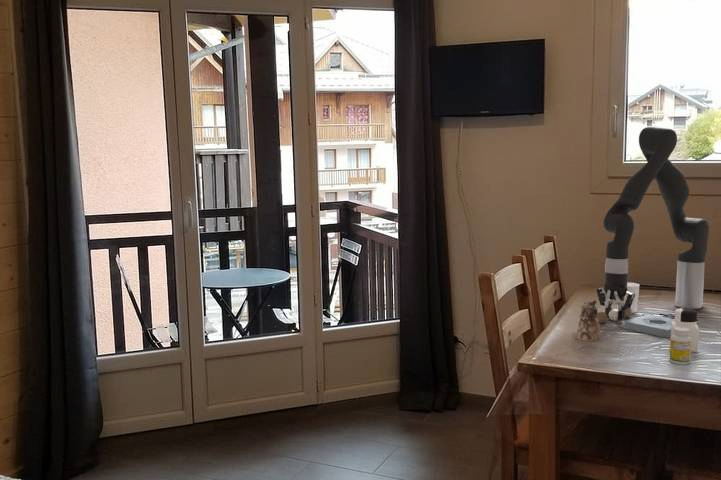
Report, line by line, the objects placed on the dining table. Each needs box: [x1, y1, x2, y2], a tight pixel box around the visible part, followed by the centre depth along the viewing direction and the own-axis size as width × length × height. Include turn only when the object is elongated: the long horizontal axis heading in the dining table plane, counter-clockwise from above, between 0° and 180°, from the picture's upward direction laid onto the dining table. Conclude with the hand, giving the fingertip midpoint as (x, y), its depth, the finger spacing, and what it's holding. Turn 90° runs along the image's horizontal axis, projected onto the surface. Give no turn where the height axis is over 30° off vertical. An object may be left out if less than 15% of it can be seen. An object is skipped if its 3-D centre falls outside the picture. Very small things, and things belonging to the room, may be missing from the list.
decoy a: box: [624, 308, 633, 319], centre depth 255 cm, size 4×4×4 cm
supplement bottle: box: [669, 327, 692, 365], centre depth 203 cm, size 5×5×10 cm
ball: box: [609, 308, 618, 322], centre depth 250 cm, size 4×4×4 cm
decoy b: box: [597, 311, 608, 324], centre depth 247 cm, size 4×4×4 cm
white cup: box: [616, 282, 640, 314], centre depth 264 cm, size 8×8×10 cm
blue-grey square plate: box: [623, 313, 675, 339], centre depth 239 cm, size 15×15×2 cm
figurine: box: [576, 300, 602, 342], centre depth 228 cm, size 7×7×12 cm
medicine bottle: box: [669, 307, 700, 353], centre depth 216 cm, size 7×7×12 cm
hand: (614, 319), depth 251 cm, fingers closed on ball, 4 cm apart
